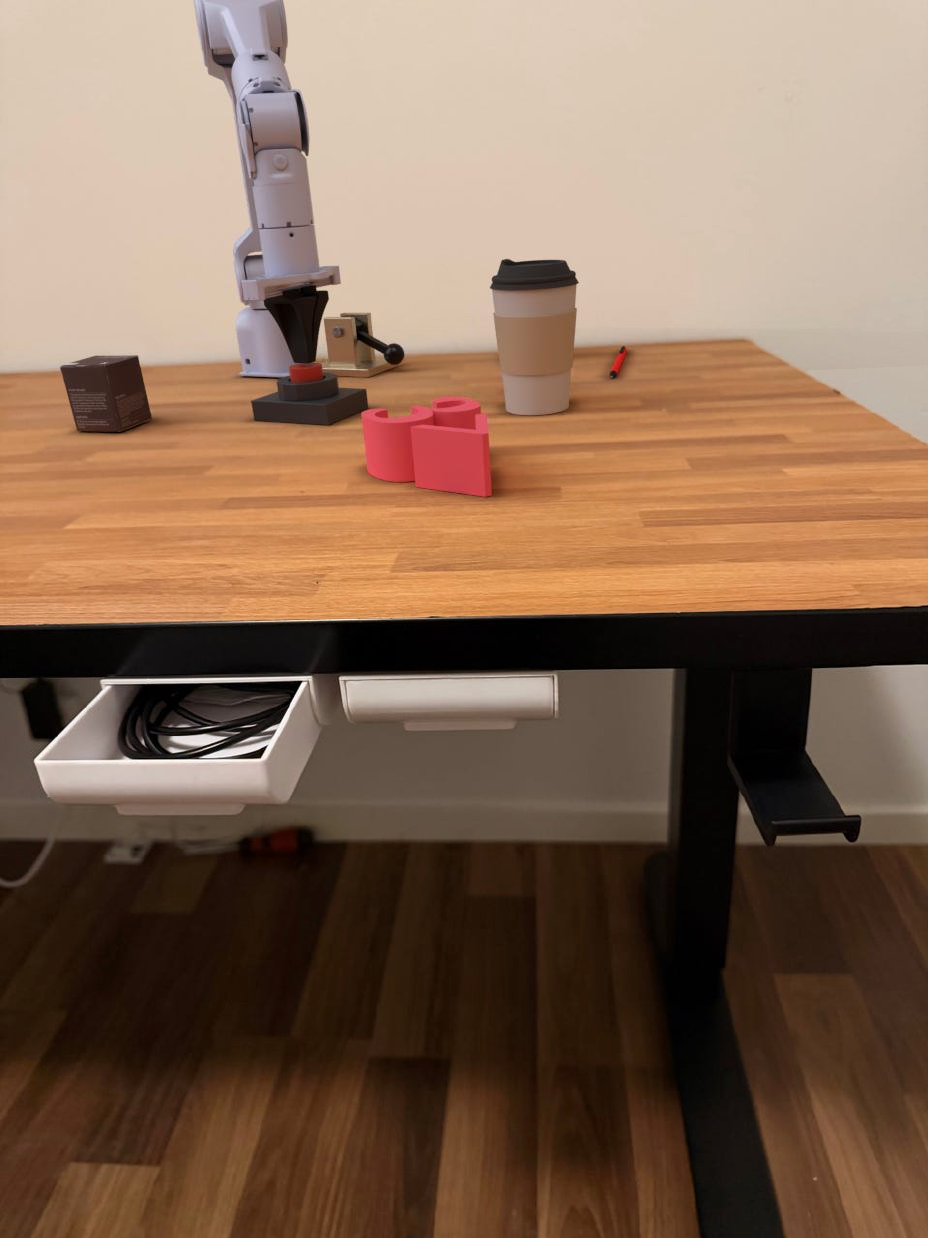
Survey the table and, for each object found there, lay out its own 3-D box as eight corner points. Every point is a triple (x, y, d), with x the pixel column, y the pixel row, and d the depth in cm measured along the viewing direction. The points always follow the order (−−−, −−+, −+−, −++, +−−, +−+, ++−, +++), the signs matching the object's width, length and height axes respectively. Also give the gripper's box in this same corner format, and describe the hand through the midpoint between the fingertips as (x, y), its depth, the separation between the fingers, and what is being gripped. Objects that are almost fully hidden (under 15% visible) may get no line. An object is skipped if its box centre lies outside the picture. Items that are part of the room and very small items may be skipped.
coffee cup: (590, 399, 99) (590, 252, 92) (563, 419, 91) (561, 261, 85) (514, 397, 102) (508, 255, 96) (482, 415, 95) (474, 264, 88)
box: (154, 420, 103) (140, 354, 100) (119, 433, 98) (104, 364, 95) (110, 419, 105) (95, 354, 102) (75, 432, 100) (58, 364, 97)
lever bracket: (399, 365, 125) (394, 310, 122) (368, 377, 119) (362, 319, 116) (339, 363, 129) (333, 310, 126) (306, 374, 123) (299, 319, 120)
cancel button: (284, 384, 98) (282, 368, 98) (303, 377, 101) (301, 361, 101) (311, 385, 97) (309, 368, 96) (330, 378, 100) (328, 362, 99)
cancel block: (254, 420, 100) (248, 383, 98) (296, 404, 106) (291, 369, 104) (328, 425, 95) (323, 387, 94) (368, 408, 102) (364, 372, 100)
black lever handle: (404, 366, 122) (410, 347, 120) (394, 370, 120) (400, 350, 118) (343, 332, 124) (348, 313, 122) (332, 335, 122) (337, 316, 120)
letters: (541, 484, 72) (540, 422, 70) (428, 510, 68) (422, 445, 66) (461, 448, 84) (457, 394, 82) (359, 468, 80) (353, 412, 78)
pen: (627, 352, 124) (627, 343, 124) (615, 380, 108) (615, 371, 107) (621, 352, 125) (621, 344, 124) (608, 380, 108) (608, 371, 108)
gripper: (274, 230, 85) (295, 376, 91) (357, 220, 96) (370, 351, 102) (216, 233, 88) (240, 374, 94) (303, 223, 99) (319, 349, 105)
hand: (304, 362), depth 98 cm, fingers closed
